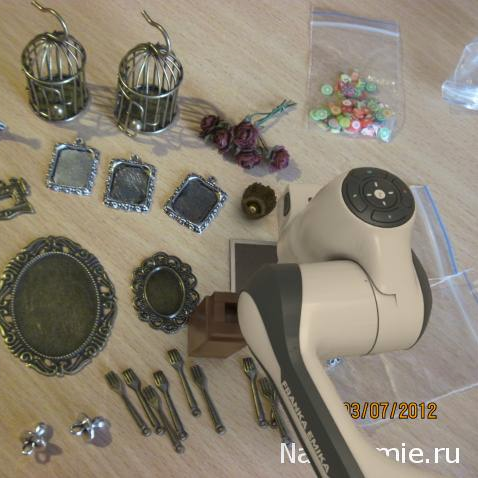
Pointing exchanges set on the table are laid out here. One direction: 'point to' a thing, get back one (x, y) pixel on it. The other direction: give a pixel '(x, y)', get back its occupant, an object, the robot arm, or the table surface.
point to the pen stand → (215, 327)
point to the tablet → (249, 259)
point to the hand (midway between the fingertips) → (280, 280)
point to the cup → (258, 201)
